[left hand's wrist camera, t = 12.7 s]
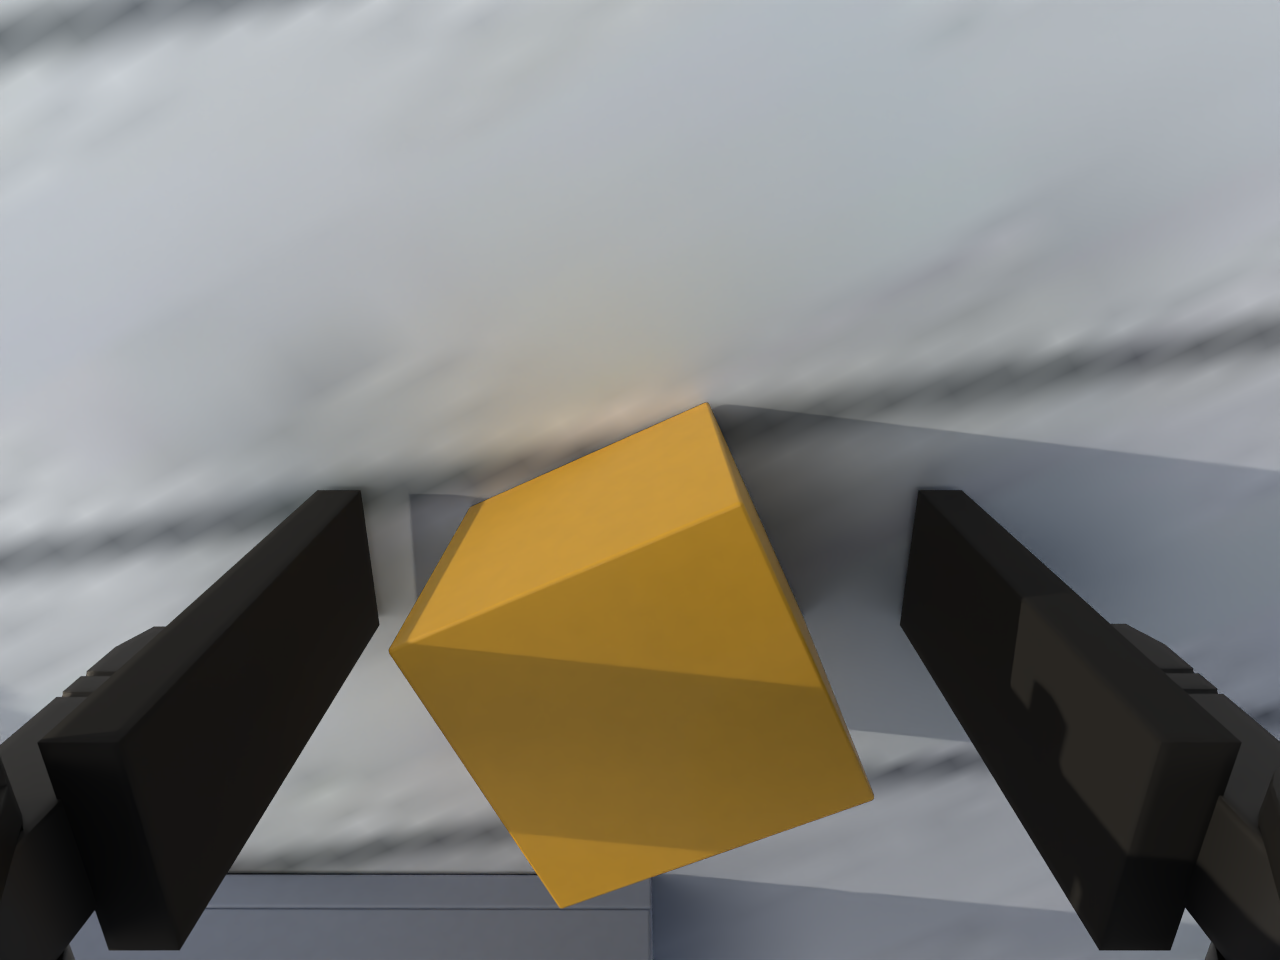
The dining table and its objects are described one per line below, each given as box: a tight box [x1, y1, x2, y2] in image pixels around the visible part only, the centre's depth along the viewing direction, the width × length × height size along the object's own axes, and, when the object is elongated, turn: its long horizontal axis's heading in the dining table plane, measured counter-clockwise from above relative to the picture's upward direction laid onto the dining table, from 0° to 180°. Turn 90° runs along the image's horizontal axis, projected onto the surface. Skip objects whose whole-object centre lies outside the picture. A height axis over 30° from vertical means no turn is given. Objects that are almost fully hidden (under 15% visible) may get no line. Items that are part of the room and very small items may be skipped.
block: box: [389, 403, 874, 908], centre depth 12 cm, size 5×5×5 cm
